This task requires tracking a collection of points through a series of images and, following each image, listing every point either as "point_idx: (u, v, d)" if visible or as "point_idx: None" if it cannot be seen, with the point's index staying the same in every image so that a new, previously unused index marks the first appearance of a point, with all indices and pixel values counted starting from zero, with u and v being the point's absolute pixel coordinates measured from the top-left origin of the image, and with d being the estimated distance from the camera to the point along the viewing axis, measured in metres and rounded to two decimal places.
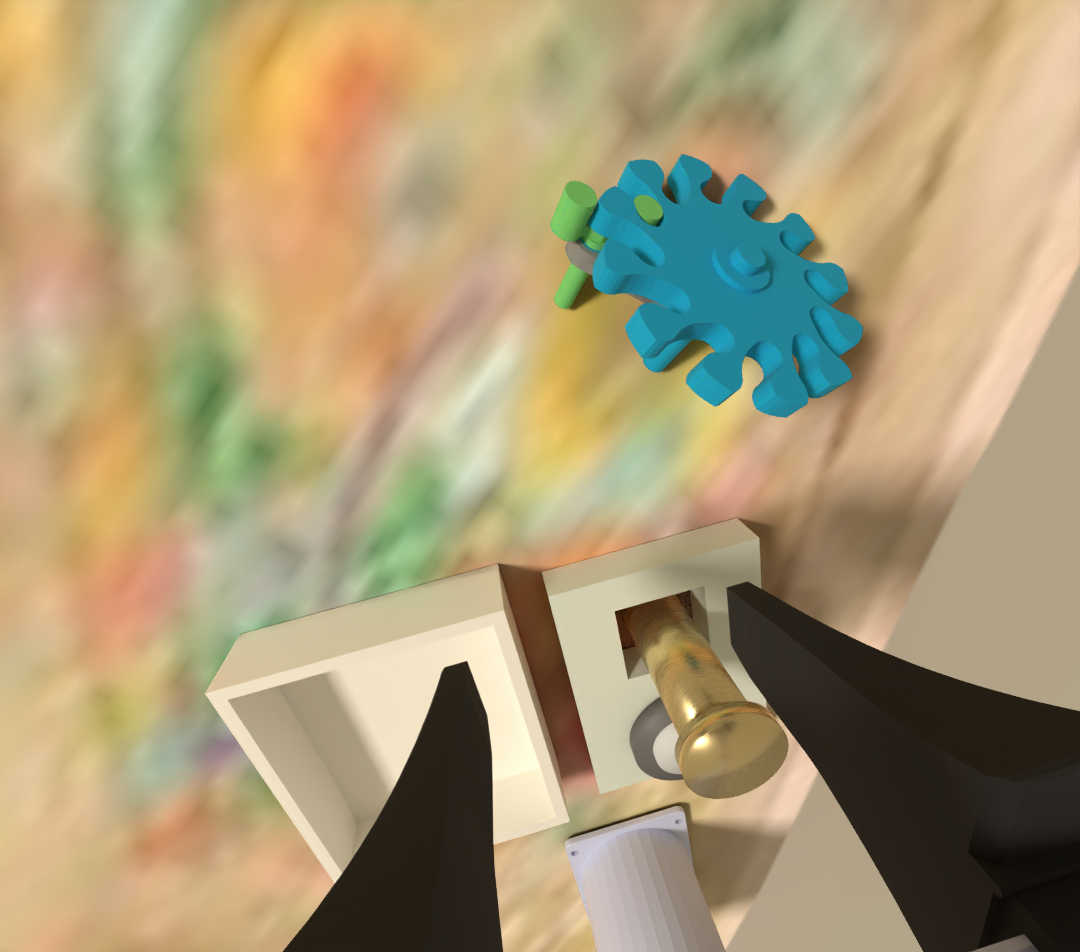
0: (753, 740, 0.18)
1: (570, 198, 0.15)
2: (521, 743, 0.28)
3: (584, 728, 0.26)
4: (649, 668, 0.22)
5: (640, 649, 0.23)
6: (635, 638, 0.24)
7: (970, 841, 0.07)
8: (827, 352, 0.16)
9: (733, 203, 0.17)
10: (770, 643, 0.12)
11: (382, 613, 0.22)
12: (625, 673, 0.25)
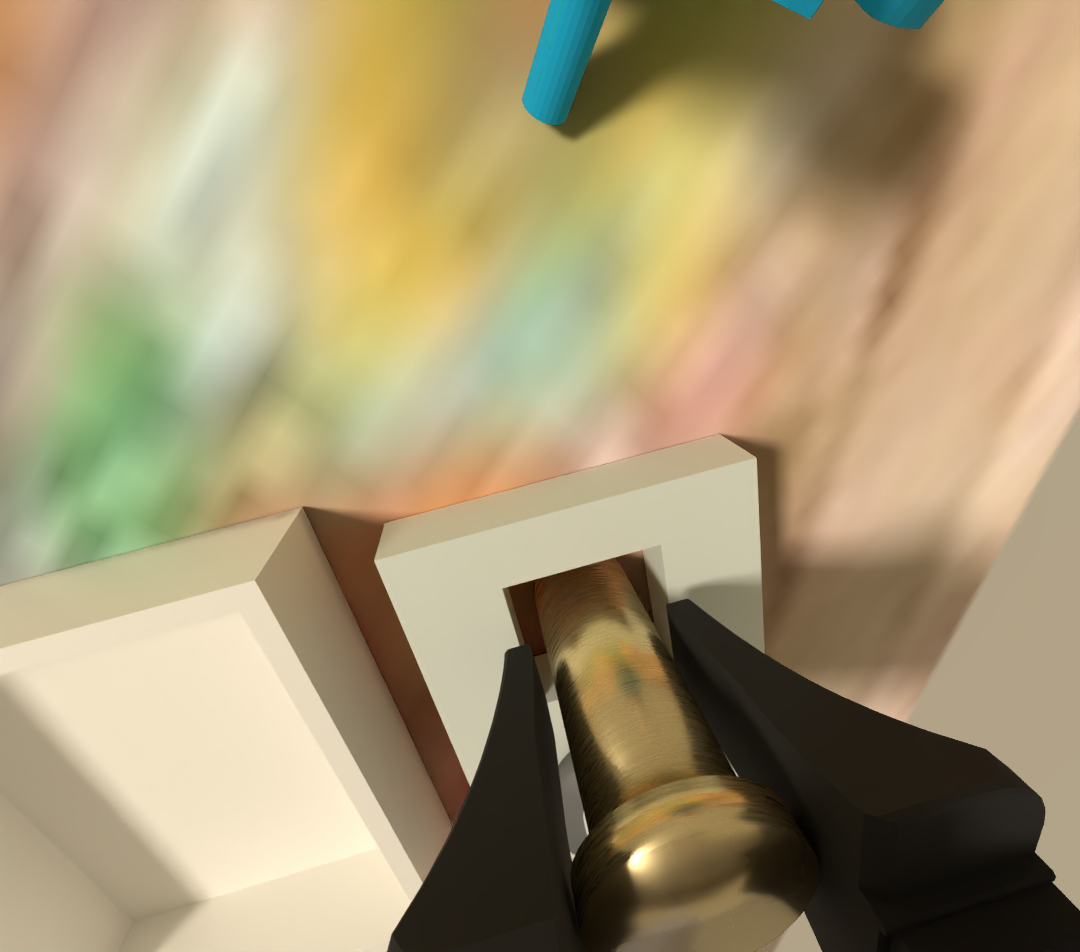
0: (740, 869, 0.08)
1: None
2: None
3: (471, 783, 0.16)
4: (556, 690, 0.12)
5: (548, 655, 0.13)
6: (543, 636, 0.14)
7: (859, 876, 0.07)
8: None
9: None
10: (701, 664, 0.11)
11: (65, 590, 0.12)
12: None
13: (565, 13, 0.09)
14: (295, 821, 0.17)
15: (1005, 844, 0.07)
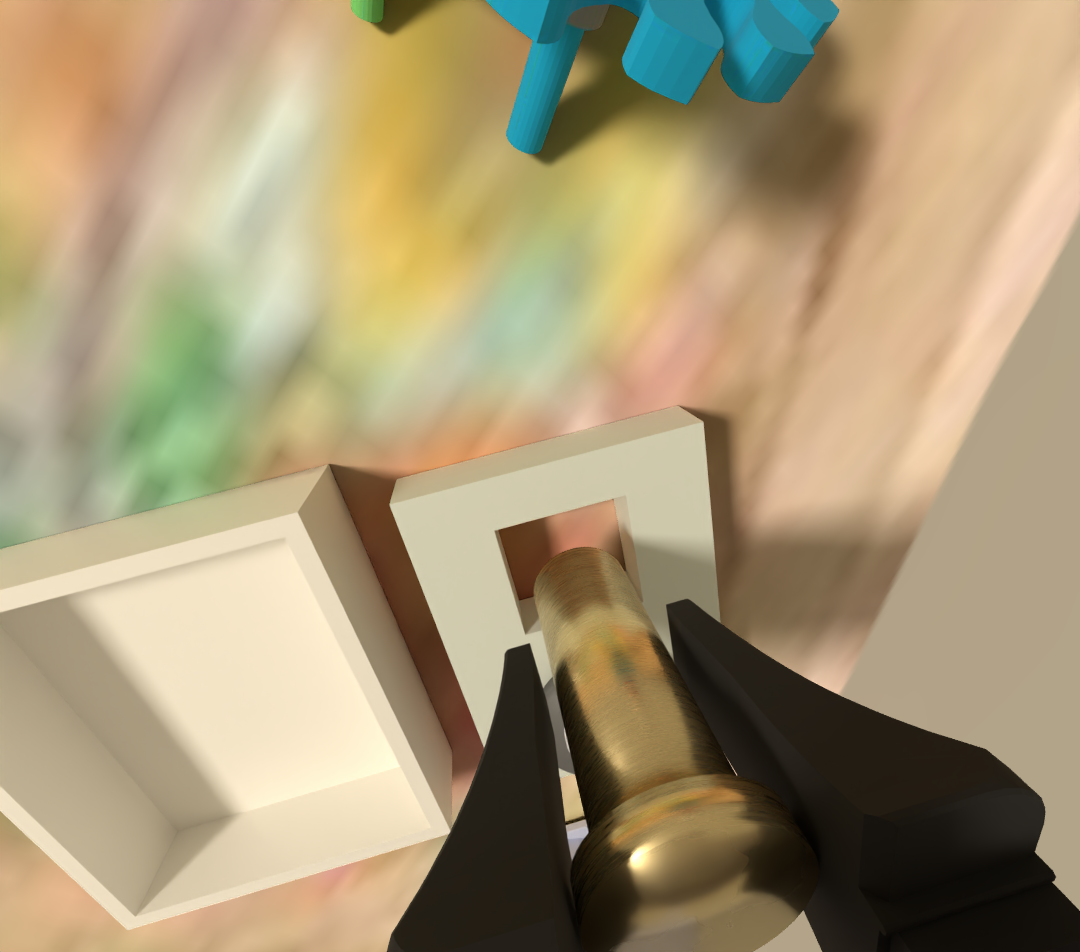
0: (740, 868, 0.08)
1: None
2: None
3: (469, 704, 0.19)
4: (556, 690, 0.12)
5: (548, 655, 0.13)
6: (543, 636, 0.14)
7: (859, 876, 0.07)
8: (770, 9, 0.09)
9: None
10: (702, 663, 0.11)
11: (139, 527, 0.15)
12: (520, 625, 0.18)
13: (537, 73, 0.12)
14: (317, 742, 0.20)
15: (1005, 844, 0.07)
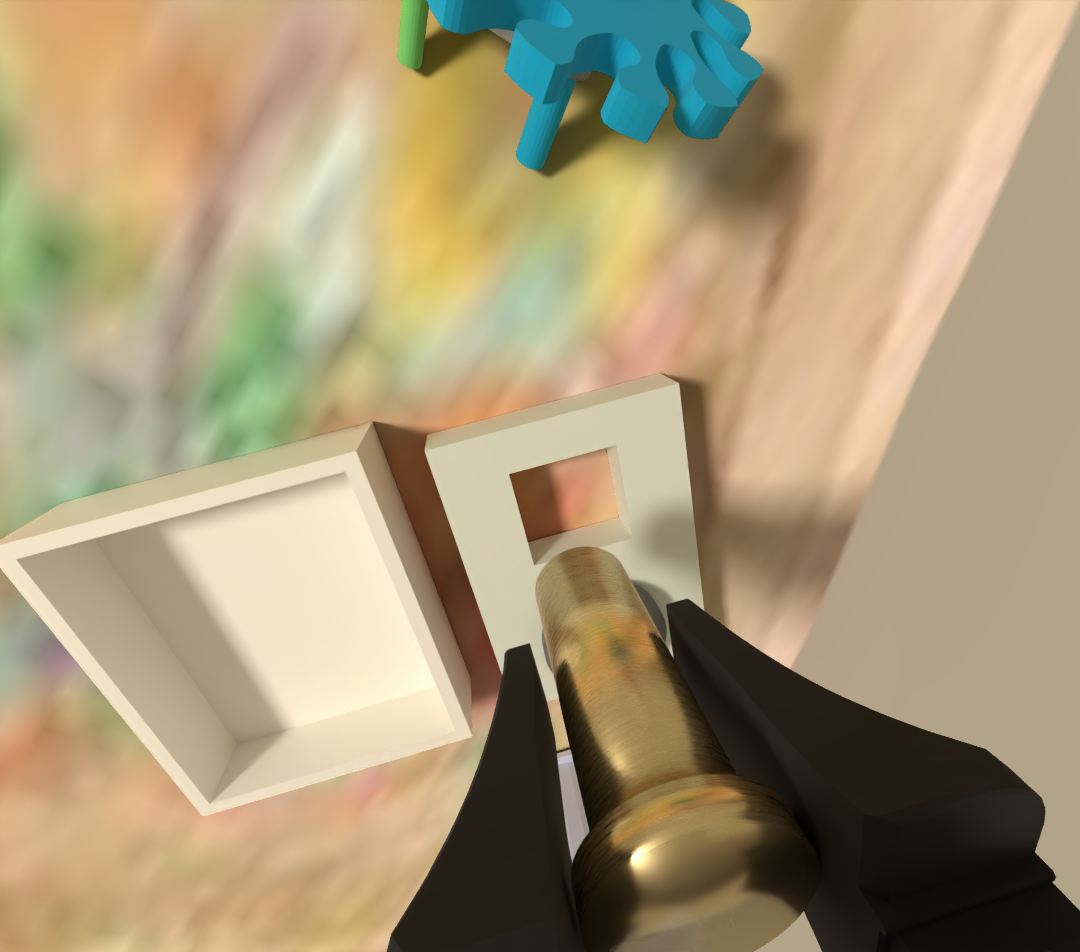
0: (741, 868, 0.08)
1: None
2: (422, 651, 0.24)
3: (487, 627, 0.22)
4: (557, 689, 0.12)
5: (549, 654, 0.13)
6: (544, 635, 0.14)
7: (859, 876, 0.07)
8: (707, 74, 0.12)
9: None
10: (702, 663, 0.11)
11: (223, 469, 0.18)
12: (530, 557, 0.21)
13: (541, 109, 0.15)
14: (357, 665, 0.24)
15: (1005, 844, 0.07)
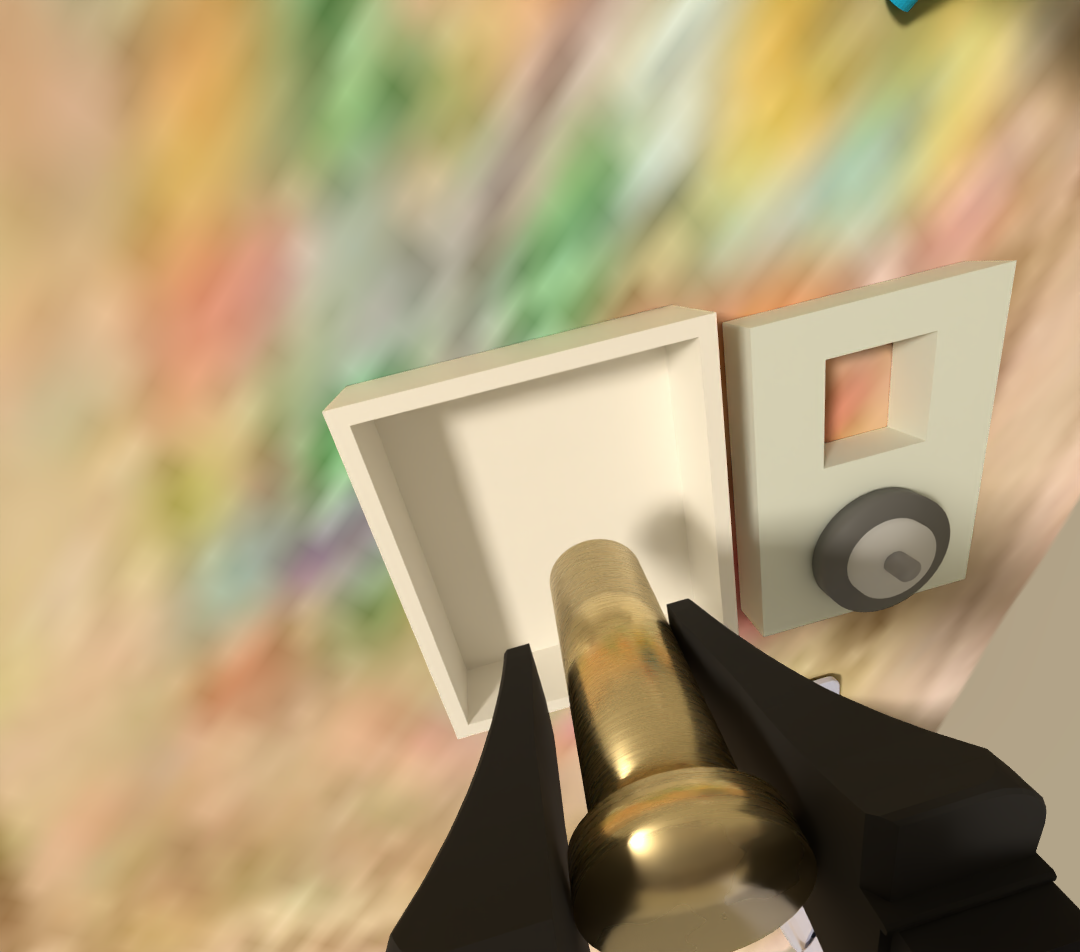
0: (735, 861, 0.08)
1: None
2: (669, 571, 0.22)
3: (761, 538, 0.21)
4: (565, 677, 0.12)
5: (560, 643, 0.14)
6: (556, 624, 0.14)
7: (860, 876, 0.07)
8: None
9: None
10: (702, 663, 0.11)
11: (537, 345, 0.17)
12: (822, 458, 0.20)
13: None
14: None
15: (1006, 844, 0.07)
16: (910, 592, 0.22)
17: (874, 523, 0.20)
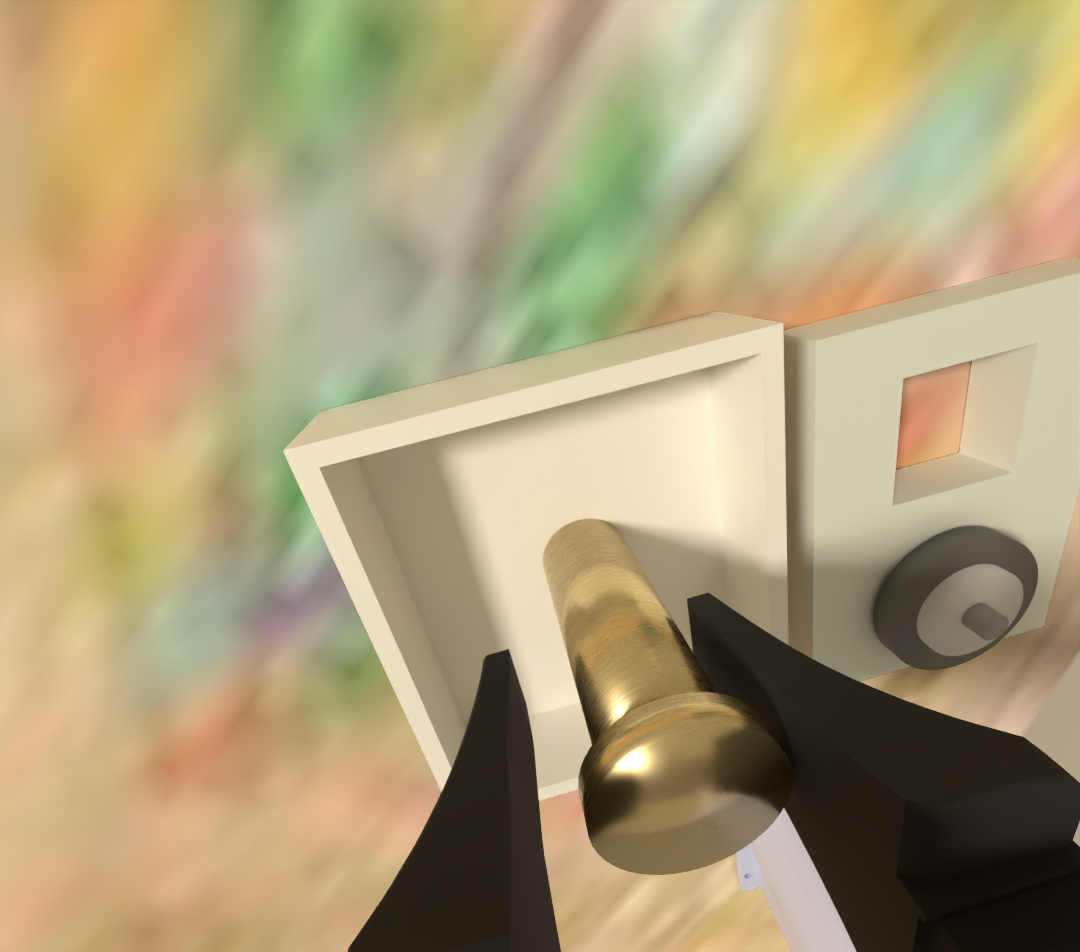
0: (724, 769, 0.09)
1: None
2: None
3: (815, 586, 0.17)
4: (564, 640, 0.14)
5: (557, 612, 0.15)
6: (552, 596, 0.15)
7: (897, 864, 0.07)
8: None
9: None
10: (725, 656, 0.11)
11: (555, 362, 0.14)
12: (891, 494, 0.16)
13: None
14: None
15: (1044, 832, 0.07)
16: (986, 646, 0.19)
17: (952, 570, 0.17)
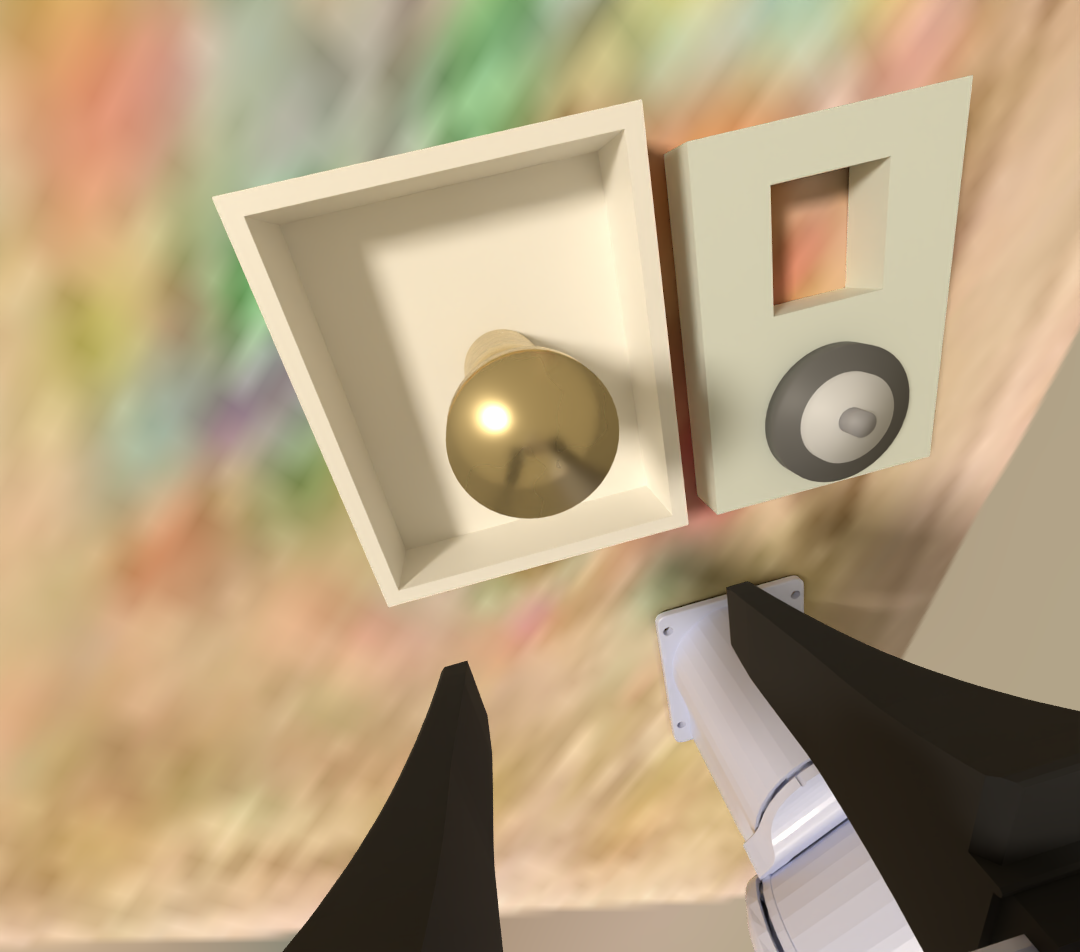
0: (557, 400, 0.11)
1: None
2: None
3: (709, 396, 0.20)
4: None
5: None
6: None
7: (970, 841, 0.07)
8: None
9: None
10: (770, 644, 0.12)
11: None
12: (771, 304, 0.19)
13: None
14: None
15: None
16: (869, 461, 0.21)
17: (827, 375, 0.19)
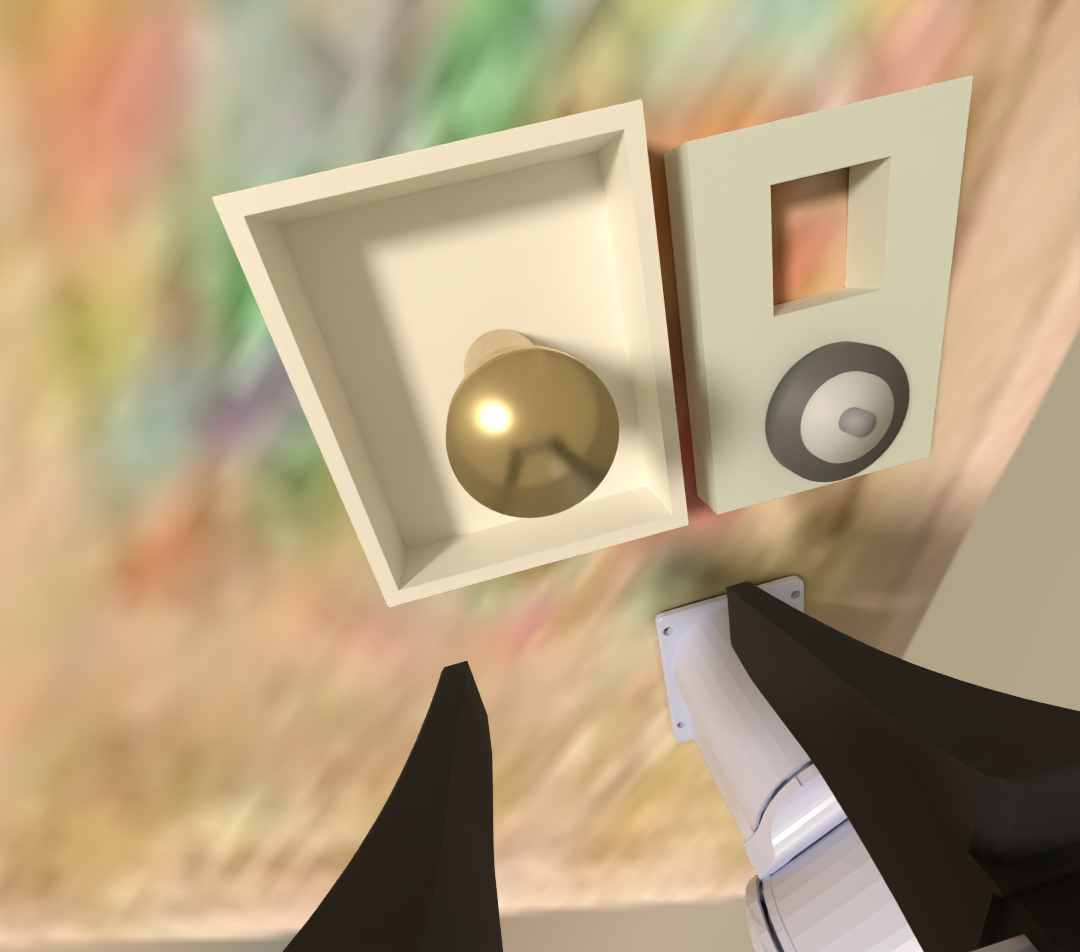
0: (557, 400, 0.11)
1: None
2: None
3: (709, 396, 0.20)
4: None
5: None
6: None
7: (970, 841, 0.07)
8: None
9: None
10: (770, 644, 0.12)
11: None
12: (771, 304, 0.19)
13: None
14: None
15: None
16: (869, 461, 0.21)
17: (827, 375, 0.19)
